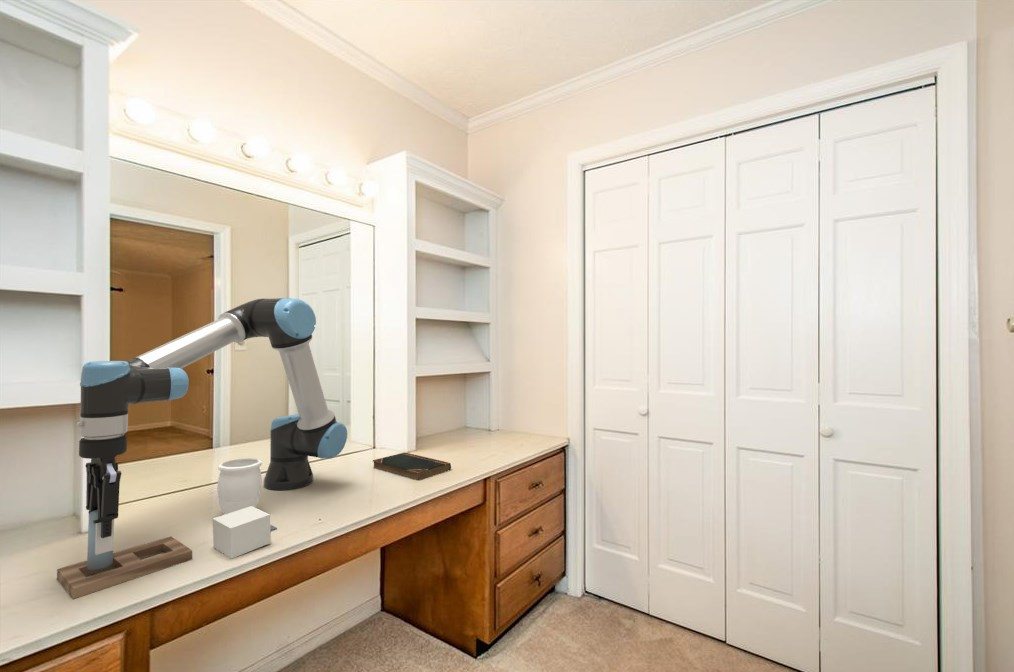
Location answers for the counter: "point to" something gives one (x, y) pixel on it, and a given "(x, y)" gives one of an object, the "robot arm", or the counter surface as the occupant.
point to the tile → (272, 528)
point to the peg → (93, 559)
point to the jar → (239, 484)
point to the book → (411, 465)
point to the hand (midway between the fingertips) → (100, 548)
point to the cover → (241, 531)
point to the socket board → (123, 566)
